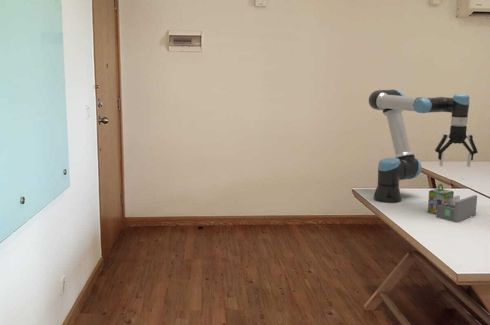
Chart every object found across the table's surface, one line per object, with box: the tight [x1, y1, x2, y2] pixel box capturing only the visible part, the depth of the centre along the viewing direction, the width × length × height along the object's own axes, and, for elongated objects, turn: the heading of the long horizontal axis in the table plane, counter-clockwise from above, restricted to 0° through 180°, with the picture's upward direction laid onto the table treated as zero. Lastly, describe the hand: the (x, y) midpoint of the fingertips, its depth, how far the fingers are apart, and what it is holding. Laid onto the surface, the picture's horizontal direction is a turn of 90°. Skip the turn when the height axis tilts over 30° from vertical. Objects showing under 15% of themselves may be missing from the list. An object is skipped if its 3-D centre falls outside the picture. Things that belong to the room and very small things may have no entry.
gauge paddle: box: [442, 195, 461, 208], centre depth 231 cm, size 1×16×8 cm, turn 128°
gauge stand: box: [435, 194, 478, 223], centre depth 230 cm, size 11×20×10 cm, turn 128°
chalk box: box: [427, 183, 455, 214], centre depth 236 cm, size 9×9×15 cm
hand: (454, 166), depth 237 cm, fingers open, 13 cm apart
